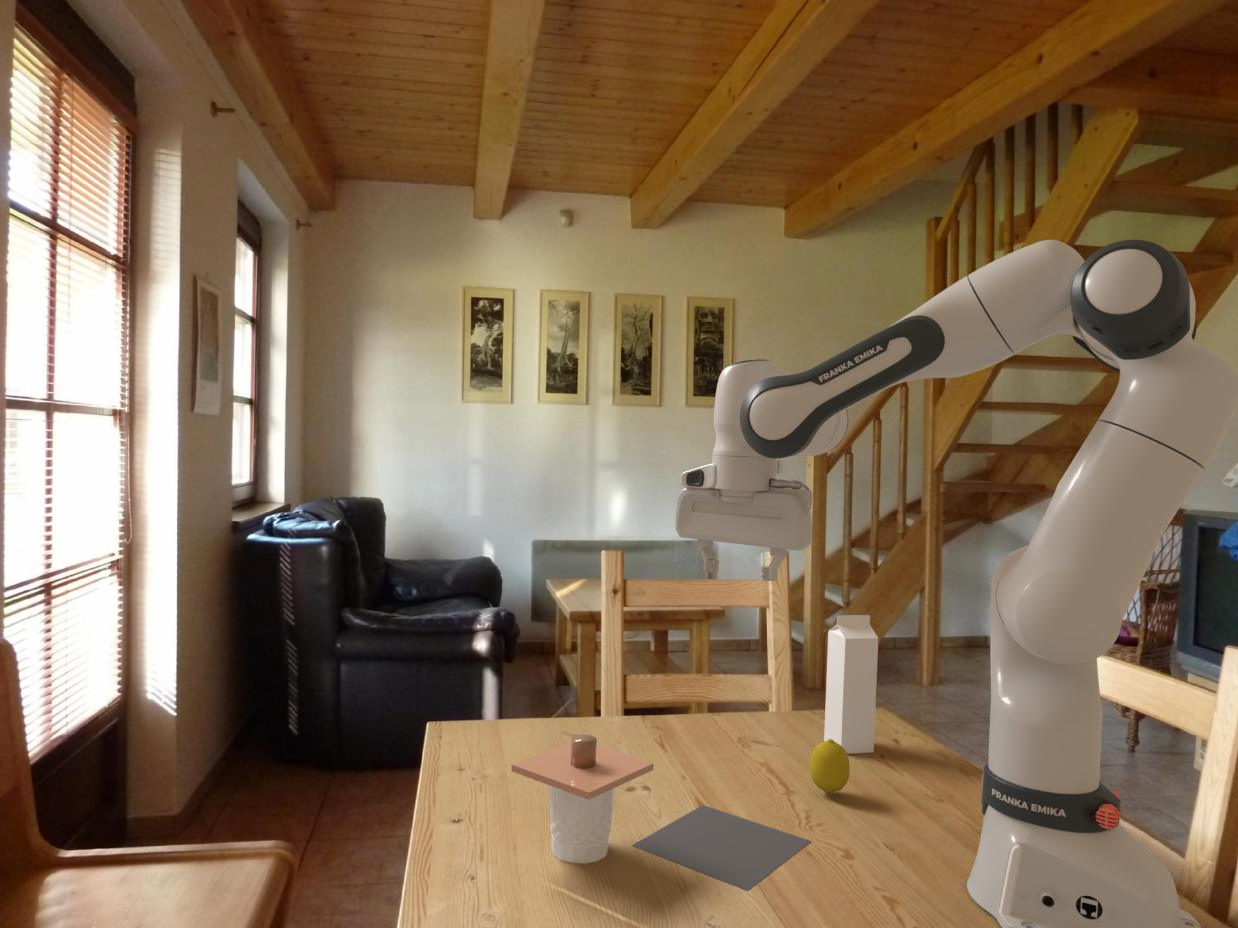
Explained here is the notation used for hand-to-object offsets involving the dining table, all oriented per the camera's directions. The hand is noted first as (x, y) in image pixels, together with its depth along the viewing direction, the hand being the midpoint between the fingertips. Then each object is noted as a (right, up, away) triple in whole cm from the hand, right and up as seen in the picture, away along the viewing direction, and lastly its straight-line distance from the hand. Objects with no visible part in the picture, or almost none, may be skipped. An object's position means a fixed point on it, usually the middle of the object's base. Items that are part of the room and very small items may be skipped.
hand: (739, 576), depth 121 cm
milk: (+21, -32, +23) cm, 44 cm away
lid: (-21, -21, -18) cm, 35 cm away
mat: (-4, -31, -15) cm, 35 cm away
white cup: (-22, -31, -18) cm, 42 cm away
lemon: (+13, -32, +2) cm, 34 cm away
